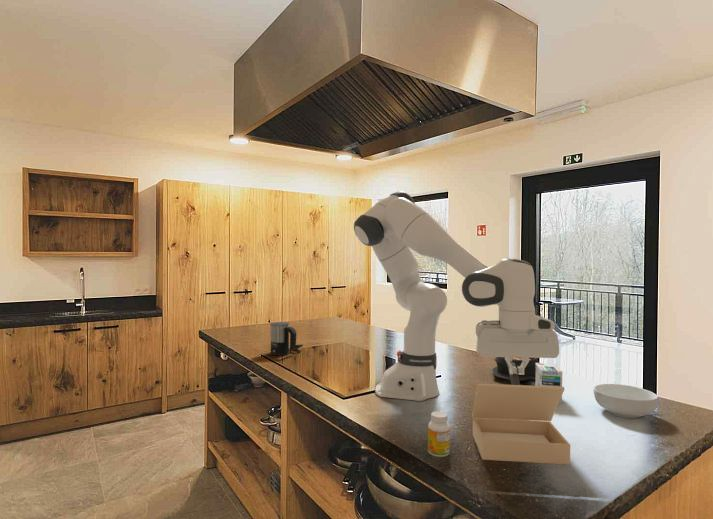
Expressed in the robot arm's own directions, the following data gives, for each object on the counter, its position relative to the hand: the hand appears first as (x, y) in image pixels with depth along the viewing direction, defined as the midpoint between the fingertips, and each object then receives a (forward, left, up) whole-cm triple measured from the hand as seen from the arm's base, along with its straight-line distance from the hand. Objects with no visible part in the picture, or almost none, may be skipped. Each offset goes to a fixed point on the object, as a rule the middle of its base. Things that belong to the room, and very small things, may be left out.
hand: (516, 374), depth 112 cm
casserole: (+17, +63, -19) cm, 68 cm away
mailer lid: (0, -1, -7) cm, 8 cm away
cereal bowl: (+40, +26, -19) cm, 51 cm away
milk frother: (-85, +91, -19) cm, 126 cm away
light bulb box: (+21, +38, -19) cm, 47 cm away
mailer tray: (0, -4, -18) cm, 19 cm away
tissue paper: (0, -4, -18) cm, 18 cm away
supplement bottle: (-20, -8, -19) cm, 29 cm away
